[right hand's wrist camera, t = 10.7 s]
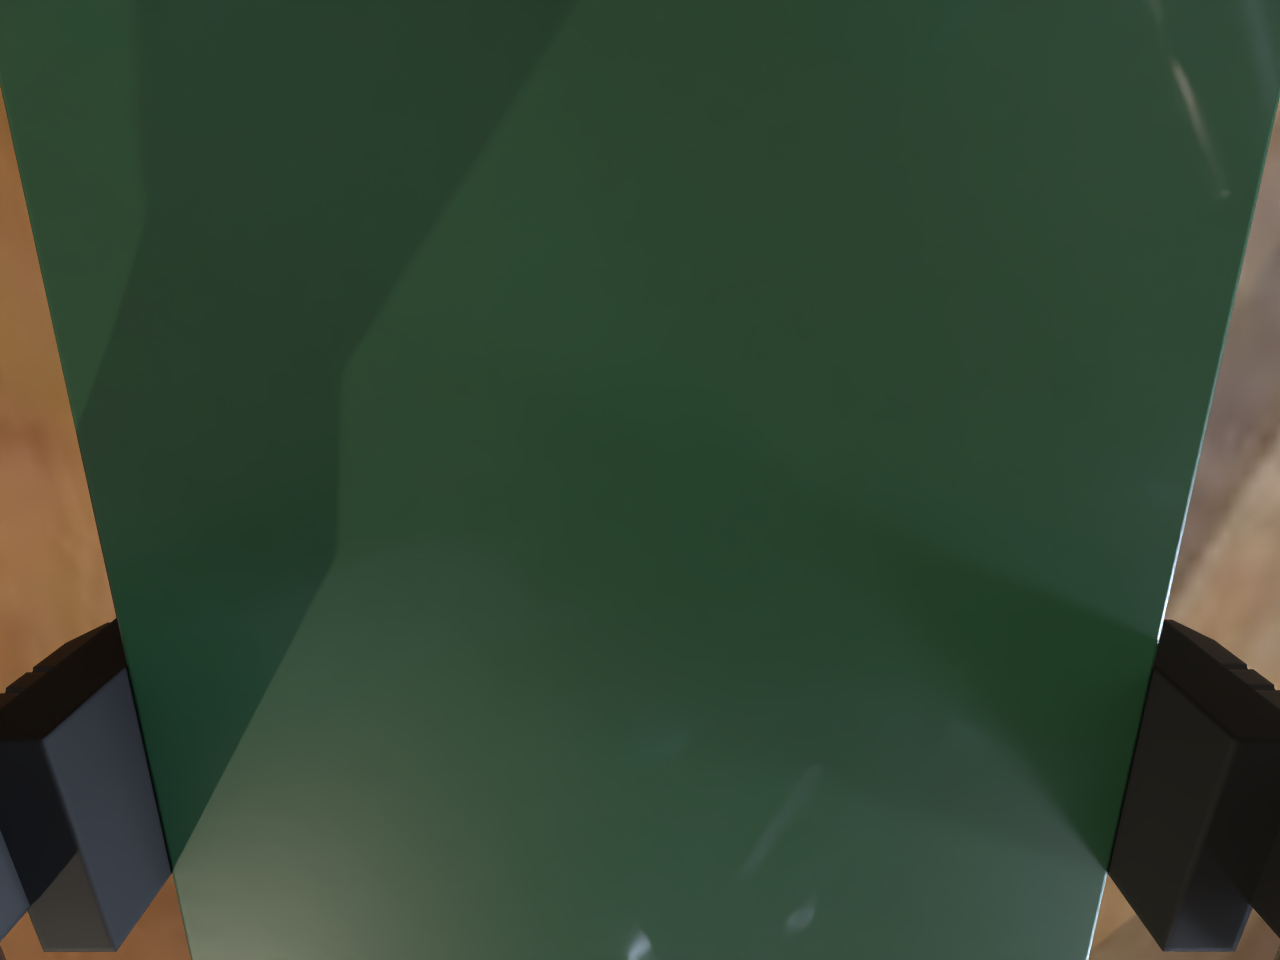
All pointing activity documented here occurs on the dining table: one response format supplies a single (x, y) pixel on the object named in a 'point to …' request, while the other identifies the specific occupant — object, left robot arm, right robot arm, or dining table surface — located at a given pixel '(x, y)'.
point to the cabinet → (640, 450)
